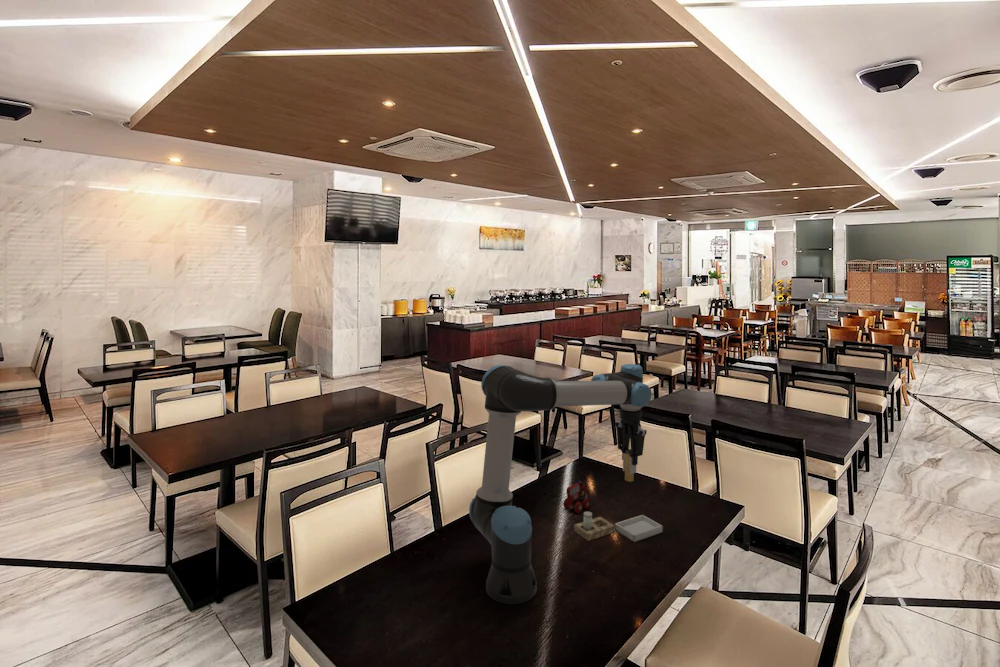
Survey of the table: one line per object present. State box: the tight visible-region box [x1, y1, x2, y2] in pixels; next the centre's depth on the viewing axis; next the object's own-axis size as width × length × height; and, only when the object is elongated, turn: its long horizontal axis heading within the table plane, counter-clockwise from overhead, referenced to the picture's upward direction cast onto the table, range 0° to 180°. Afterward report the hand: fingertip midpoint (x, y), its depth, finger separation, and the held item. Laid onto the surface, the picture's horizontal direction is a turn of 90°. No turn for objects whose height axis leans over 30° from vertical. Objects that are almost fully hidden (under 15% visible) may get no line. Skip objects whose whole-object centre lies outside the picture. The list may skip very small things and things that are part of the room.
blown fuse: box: [624, 448, 635, 483], centre depth 186 cm, size 3×3×11 cm
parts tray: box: [614, 514, 664, 543], centre depth 188 cm, size 14×10×2 cm
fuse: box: [583, 511, 593, 531], centre depth 186 cm, size 3×3×8 cm
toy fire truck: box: [563, 480, 591, 514], centre depth 206 cm, size 7×12×10 cm, turn 135°
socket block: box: [573, 516, 616, 542], centre depth 188 cm, size 12×8×2 cm, turn 120°
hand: (629, 471), depth 186 cm, fingers closed on blown fuse, 2 cm apart
